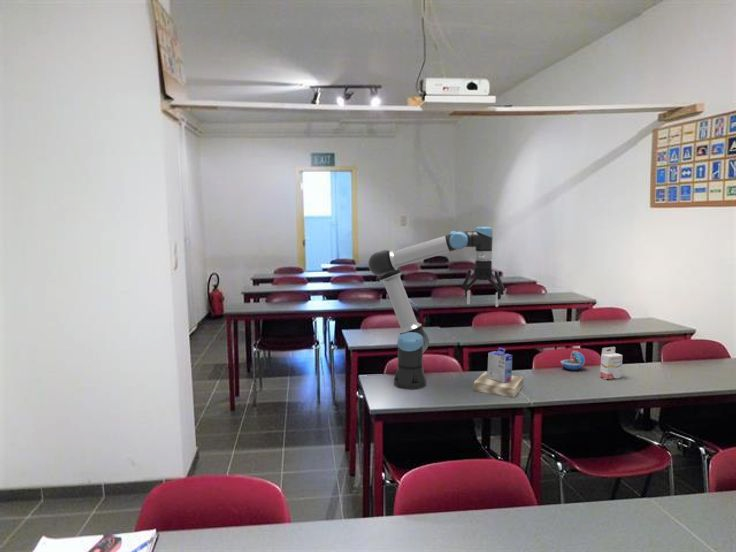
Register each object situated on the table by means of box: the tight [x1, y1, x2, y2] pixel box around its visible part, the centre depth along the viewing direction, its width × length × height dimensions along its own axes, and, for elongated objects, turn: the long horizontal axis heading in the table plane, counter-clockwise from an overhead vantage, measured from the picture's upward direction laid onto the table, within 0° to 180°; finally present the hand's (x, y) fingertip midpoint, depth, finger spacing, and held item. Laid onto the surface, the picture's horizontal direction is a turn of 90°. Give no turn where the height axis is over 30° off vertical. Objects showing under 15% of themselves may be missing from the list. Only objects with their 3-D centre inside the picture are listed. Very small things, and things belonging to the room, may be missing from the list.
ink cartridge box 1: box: [487, 347, 513, 383], centre depth 222 cm, size 10×6×14 cm, turn 39°
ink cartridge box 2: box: [599, 346, 623, 380], centre depth 236 cm, size 9×5×15 cm, turn 108°
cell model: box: [560, 350, 586, 371], centre depth 250 cm, size 10×12×10 cm
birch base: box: [473, 371, 524, 398], centre depth 223 cm, size 18×18×4 cm
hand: (482, 305), depth 229 cm, fingers open, 13 cm apart
